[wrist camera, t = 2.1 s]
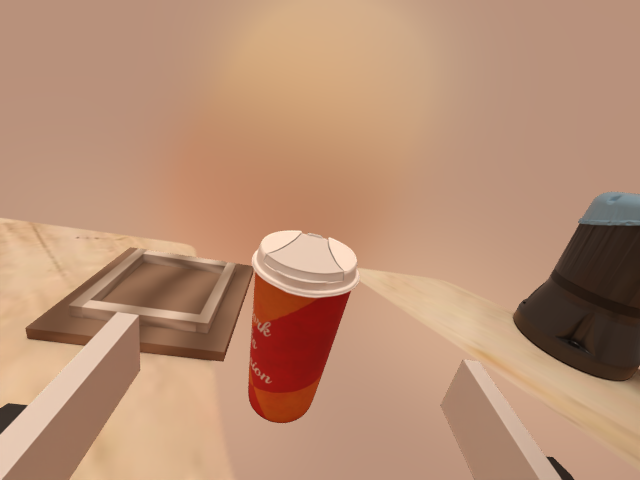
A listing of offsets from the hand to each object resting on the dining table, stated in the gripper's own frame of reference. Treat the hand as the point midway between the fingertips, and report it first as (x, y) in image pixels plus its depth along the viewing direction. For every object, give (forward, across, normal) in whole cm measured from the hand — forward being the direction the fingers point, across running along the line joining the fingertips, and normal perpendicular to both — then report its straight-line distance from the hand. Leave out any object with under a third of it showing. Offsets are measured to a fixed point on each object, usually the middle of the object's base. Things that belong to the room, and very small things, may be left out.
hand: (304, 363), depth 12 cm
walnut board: (+23, -15, -15) cm, 31 cm away
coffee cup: (+11, 0, -15) cm, 19 cm away
